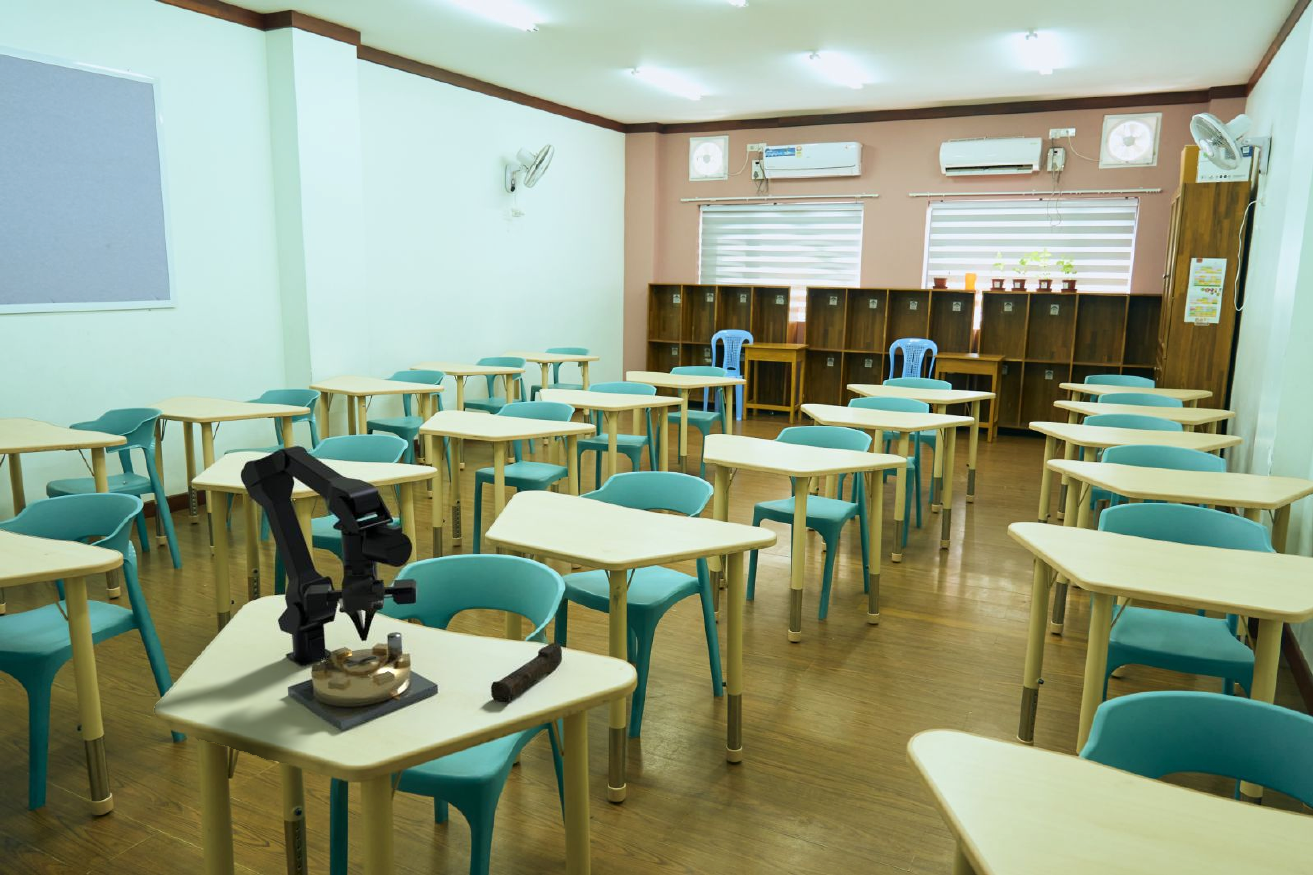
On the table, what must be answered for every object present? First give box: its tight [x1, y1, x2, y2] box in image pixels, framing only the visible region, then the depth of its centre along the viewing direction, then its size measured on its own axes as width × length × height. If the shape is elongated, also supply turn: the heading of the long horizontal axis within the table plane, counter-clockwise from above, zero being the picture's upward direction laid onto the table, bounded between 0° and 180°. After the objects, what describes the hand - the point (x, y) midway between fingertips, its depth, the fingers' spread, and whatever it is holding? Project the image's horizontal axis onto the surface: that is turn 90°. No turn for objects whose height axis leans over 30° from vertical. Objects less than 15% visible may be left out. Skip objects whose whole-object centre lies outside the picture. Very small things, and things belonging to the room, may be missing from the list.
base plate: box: [287, 670, 439, 732], centre depth 153 cm, size 18×18×2 cm
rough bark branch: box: [490, 642, 563, 704], centre depth 158 cm, size 19×4×5 cm, turn 150°
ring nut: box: [310, 631, 412, 707], centre depth 152 cm, size 16×16×7 cm
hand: (364, 640), depth 158 cm, fingers closed
